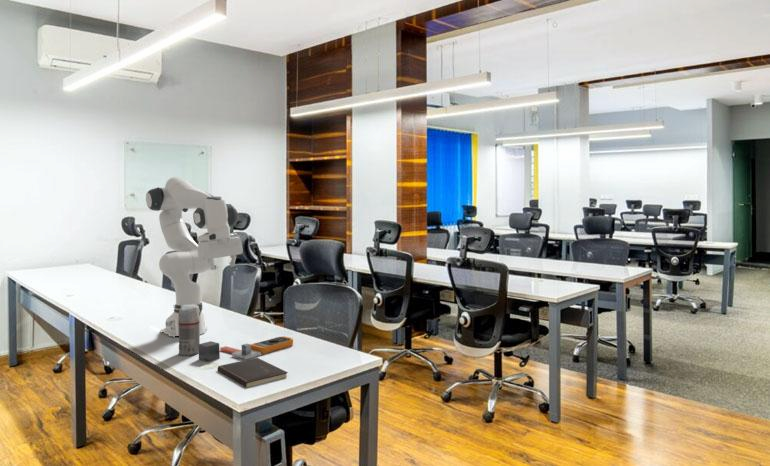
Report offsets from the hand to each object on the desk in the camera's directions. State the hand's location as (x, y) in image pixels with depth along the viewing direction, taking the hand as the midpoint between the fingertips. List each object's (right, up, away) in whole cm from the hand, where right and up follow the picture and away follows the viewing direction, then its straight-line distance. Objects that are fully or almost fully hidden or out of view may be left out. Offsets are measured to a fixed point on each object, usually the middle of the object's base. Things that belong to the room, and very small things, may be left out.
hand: (223, 268), depth 217 cm
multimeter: (+20, -35, +4) cm, 40 cm away
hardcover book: (+19, -37, -29) cm, 51 cm away
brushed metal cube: (-2, -35, -11) cm, 37 cm away
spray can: (-13, -35, -4) cm, 37 cm away
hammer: (+7, -35, -4) cm, 36 cm away
